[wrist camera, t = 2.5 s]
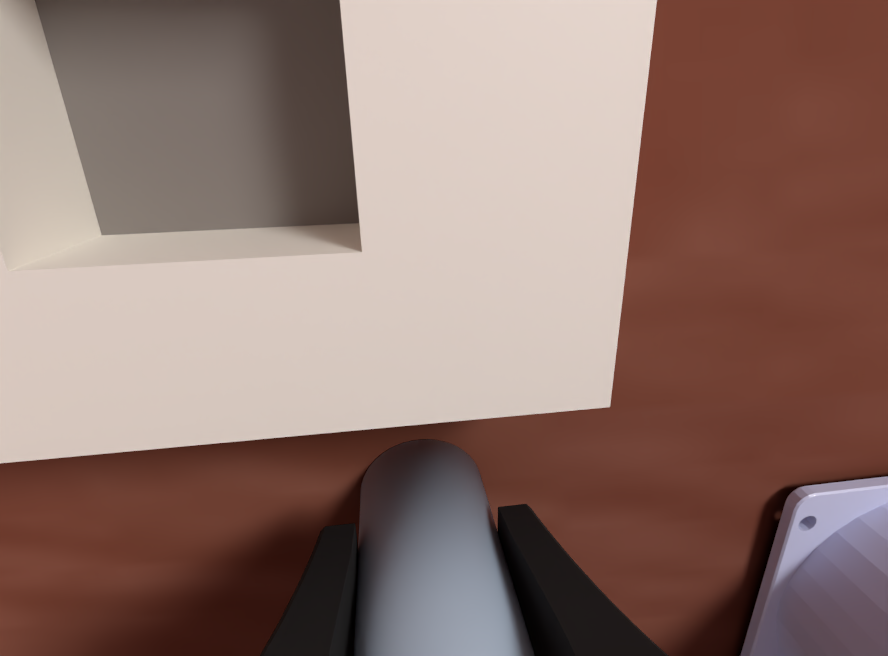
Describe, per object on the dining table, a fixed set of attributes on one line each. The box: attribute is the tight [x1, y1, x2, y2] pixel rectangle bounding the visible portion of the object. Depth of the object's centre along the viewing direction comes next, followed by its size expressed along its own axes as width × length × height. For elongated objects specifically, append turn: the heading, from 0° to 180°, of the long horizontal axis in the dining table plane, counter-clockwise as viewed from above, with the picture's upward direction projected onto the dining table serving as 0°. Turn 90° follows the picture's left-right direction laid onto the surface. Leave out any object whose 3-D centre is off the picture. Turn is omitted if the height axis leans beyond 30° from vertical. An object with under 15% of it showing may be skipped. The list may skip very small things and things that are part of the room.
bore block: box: [0, 0, 657, 463], centre depth 7 cm, size 10×12×3 cm
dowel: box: [354, 439, 535, 656], centre depth 9 cm, size 3×3×7 cm
